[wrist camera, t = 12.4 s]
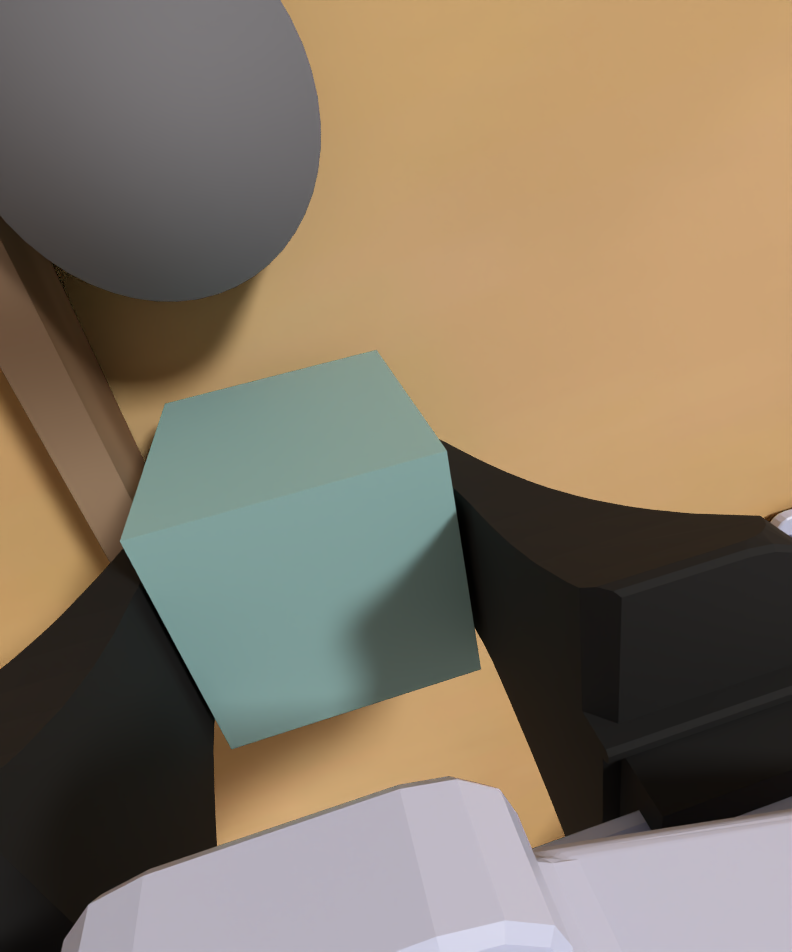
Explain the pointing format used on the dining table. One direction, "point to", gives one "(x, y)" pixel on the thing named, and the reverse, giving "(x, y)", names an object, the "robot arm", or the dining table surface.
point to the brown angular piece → (65, 391)
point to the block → (303, 546)
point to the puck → (156, 139)
